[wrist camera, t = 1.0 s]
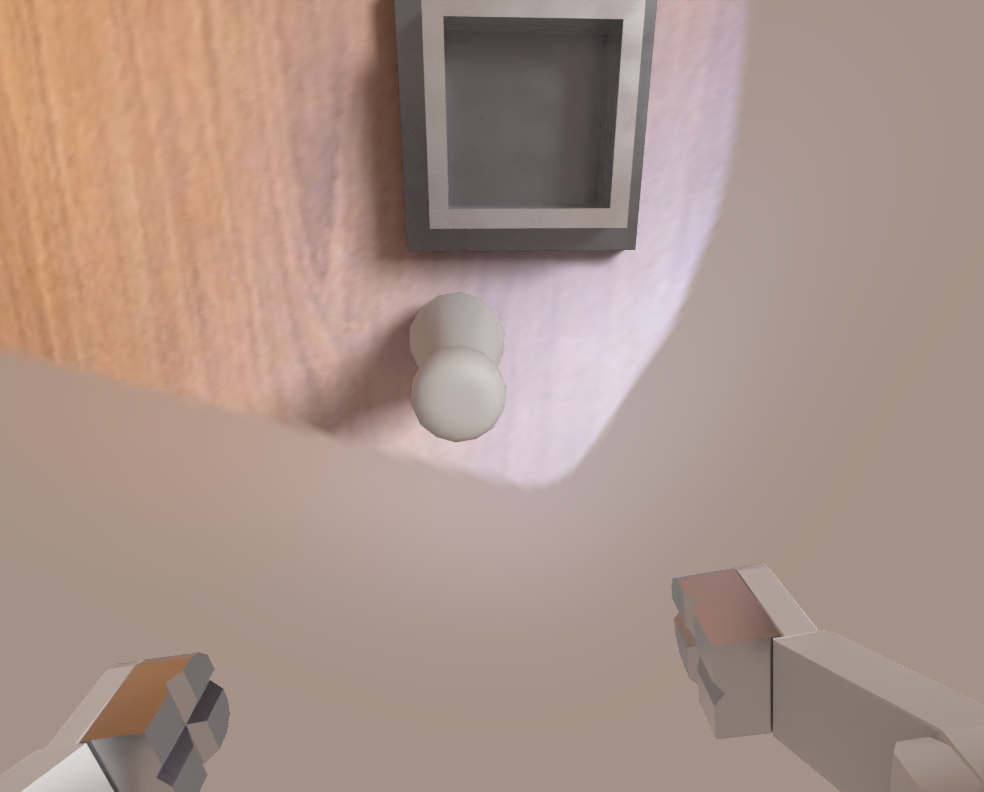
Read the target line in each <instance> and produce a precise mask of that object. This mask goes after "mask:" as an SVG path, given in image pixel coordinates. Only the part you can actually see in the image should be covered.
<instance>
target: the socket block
mask: <svg viewBox="0 0 984 792" xmlns="http://www.w3.org/2000/svg"><path fill="white" fill-rule="evenodd" d="M394 6H395V25H396V44H397V63H398V82H399V101H400V120H401V139H402V158H403V177H404V197H405V216H406V235H407V251H541V250H635V246H636V235H637V223H638V212H639V201H640V189H641V178H642V167H643V155H644V144H645V133H646V121H647V110H648V99H649V87H650V76H651V65H652V53H653V42H654V31H655V19H656V8H657V0H394Z"/></svg>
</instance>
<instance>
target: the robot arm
mask: <svg viewBox="0 0 984 792" xmlns="http://www.w3.org/2000/svg"><path fill="white" fill-rule="evenodd" d="M672 598H673V600H674V602H675V605H676V606H677V609H678V611H679V613H678V614H677V616H676V617H675V619H674V624H675V633H676V639H677V643H678V648H679V652H680V655H681V658H682V661H683V664H684V667H685V669H686V672H687V674H688V676H689V678H690V679H691V680H693V681H694V682H696V683H697V684H698V687H699V700H700V704H701V706H702V708H703V711H704V713H705V715H706V717H707V719H708V722H709V724H710V726H711V728H712V731H713V733H714V735H715V737H716V739H723V738H732V737H741V736H749V735H758V734H767V733H773V736H774V737H775V738H777V739H778V740H779V741H780V742H781V743H783V744H784V745H785V746H786V747H787V748H789V749H790V750H791V751H792V752H793V753H795V754H796V755H797V756H798V757H800V758H801V759H802V760H803V761H804V762H806V763H807V764H808V765H809V766H810V767H812V768H813V769H814V770H815V771H817V772H818V773H819V774H820V775H821V776H823V777H824V778H825V779H826V780H828V781H829V782H830V783H831V784H833V785H834V786H835V787H836V788H837V789H838V790H840V791H841V792H984V706H983V705H981V704H979V703H977V702H975V701H973V700H971V699H969V698H967V697H965V696H963V695H961V694H959V693H957V692H954V691H953V690H950V689H948V688H946V687H944V686H942V685H940V684H938V683H936V682H934V681H932V680H930V679H928V678H926V677H924V676H922V675H920V674H918V673H916V672H914V671H912V670H910V669H907V668H905V667H903V666H901V665H899V664H897V663H895V662H893V661H891V660H889V659H887V658H885V657H883V656H881V655H879V654H877V653H875V652H873V651H870V650H868V649H867V648H864V647H862V646H860V645H858V644H856V643H854V642H852V641H850V640H848V639H846V638H844V637H842V636H840V635H838V634H836V633H834V632H832V631H830V630H826V631H819V630H818V629H817V628H816V627H815V625H814V624H813V623H812V622H811V620H810V619H809V618H808V617H807V615H806V614H805V613H804V611H803V610H802V609H801V608H800V606H799V605H798V604H797V603H796V602H795V600H794V599H793V598H792V596H791V595H790V594H789V593H788V591H787V590H786V589H785V588H784V586H783V585H782V584H781V582H780V581H779V580H778V579H777V577H776V576H775V575H774V574H773V572H772V571H771V570H770V569H769V567H768V566H767V565H765V564H763V563H756V564H751V565H745V566H740V567H734V568H732V569H727V570H720V571H715V572H709V573H702V574H697V575H690V576H684V577H678V578H673V579H672ZM213 672H214V667H213V665H212V663H211V661H210V659H209V657H208V655H207V654H203V653H192V654H183V655H176V656H168V657H161V658H153V659H146V660H144V661H134V662H127V663H119V664H117V665H115V666H113V667H111V668H109V669H108V670H107V671H106V672H105V673H104V675H103V676H102V677H101V678H100V680H99V681H98V682H97V684H96V685H95V686H94V687H93V689H92V690H91V691H90V692H89V694H88V695H87V696H86V697H85V699H84V700H83V701H82V703H81V704H80V705H79V706H78V708H77V709H76V710H75V711H74V713H73V714H72V715H71V716H70V718H69V719H68V720H67V722H66V723H65V724H64V725H63V727H62V728H61V729H60V731H59V732H58V733H57V734H56V735H55V737H54V738H53V739H52V740H51V742H50V743H49V745H48V746H47V747H46V748H45V749H42V750H36V751H34V752H33V753H31V754H30V755H28V756H27V757H26V758H24V759H23V760H22V761H20V762H19V763H17V764H16V765H15V766H13V767H12V768H10V769H9V770H8V771H6V772H5V773H3V774H2V775H1V776H0V792H200V790H201V787H202V785H203V783H204V781H205V779H206V777H207V771H206V767H205V764H204V763H205V762H206V761H207V760H208V759H209V758H210V757H212V756H213V755H214V754H215V753H216V752H217V751H218V750H219V749H220V747H221V744H222V742H223V740H224V738H225V735H226V733H227V728H228V721H229V715H230V712H229V705H228V699H227V697H226V694H225V692H224V689H223V688H221V687H220V686H218V685H217V684H215V683H214V682H212V681H211V680H210V679H211V677H212V674H213Z"/></svg>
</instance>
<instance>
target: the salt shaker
mask: <svg viewBox="0 0 984 792" xmlns="http://www.w3.org/2000/svg"><path fill="white" fill-rule="evenodd" d="M504 337H505V333H504V330H503V327H502V325H501V322H500V320H499V317H498V315H497V313H496V312H495V311H494V310H492V309H491V308H490V307H489V306H488V305H487V304H486V303H485V302H484V301H483V300H482V299H480V298H477V297H474V296H471V295H467V294H464V293H461V292H459V293H452V294H446V295H439V296H438V297H436V298H435V299H433V300H432V301H431V302H429V303H428V304H426V305H425V306H423V307H422V308H421V309H420V310H419V312H418V314H417V316H416V317H415V319H414V321H413V323H412V325H411V326H410V350H411V353H412V355H413V357H414V360H415V362H416V364H417V366H418V370H417V372H416V374H415V376H414V377H413V380H412V385H411V403H412V407H413V409H414V411H415V413H416V416H417V418H418V420H419V422H420V424H421V425H422V426H423V427H424V428H426V429H427V430H428V431H429V432H431V433H432V434H433V435H435V436H436V437H438V438H442V439H446V440H450V441H453V442H460V441H466V440H472V439H476V438H478V437H480V436H481V435H483V434H484V433H486V432H488V431H489V430H491V429H492V428H493V427H494V425H495V424H496V422H497V420H498V419H499V417H500V416H501V414H502V412H503V409H504V403H505V393H506V385H505V383H504V381H503V378H502V376H501V373H500V371H499V369H498V364H499V362H500V359H501V357H502V355H503V347H504Z"/></svg>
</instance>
